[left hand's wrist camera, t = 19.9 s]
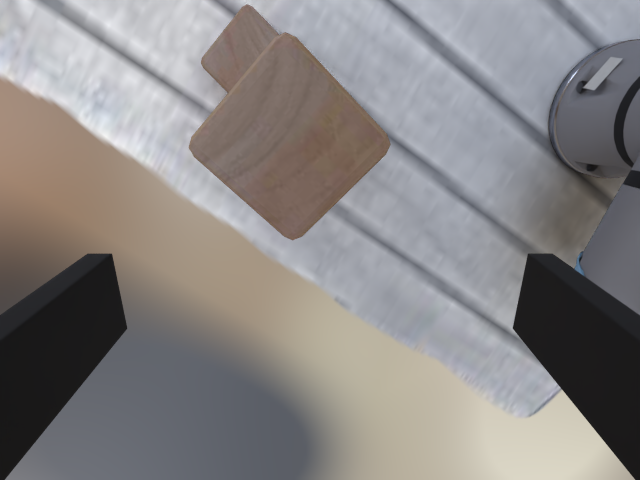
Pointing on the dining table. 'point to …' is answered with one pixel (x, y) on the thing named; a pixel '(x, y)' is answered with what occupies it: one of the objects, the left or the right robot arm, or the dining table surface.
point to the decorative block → (282, 127)
